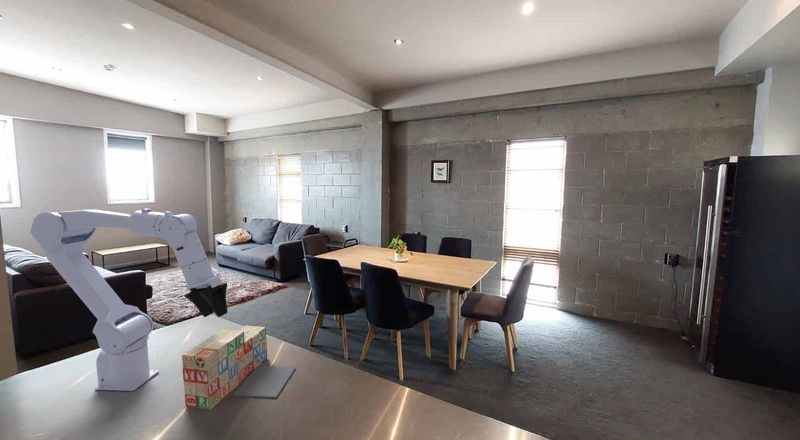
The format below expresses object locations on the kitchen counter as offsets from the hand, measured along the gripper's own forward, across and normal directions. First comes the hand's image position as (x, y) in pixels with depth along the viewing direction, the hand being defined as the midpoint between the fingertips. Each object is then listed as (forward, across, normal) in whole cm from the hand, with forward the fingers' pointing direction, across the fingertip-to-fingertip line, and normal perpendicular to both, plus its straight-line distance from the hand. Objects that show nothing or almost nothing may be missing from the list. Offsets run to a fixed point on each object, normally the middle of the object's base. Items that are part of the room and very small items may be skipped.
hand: (215, 315), depth 78 cm
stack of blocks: (+17, +2, +2) cm, 17 cm away
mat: (+20, -5, -3) cm, 21 cm away
